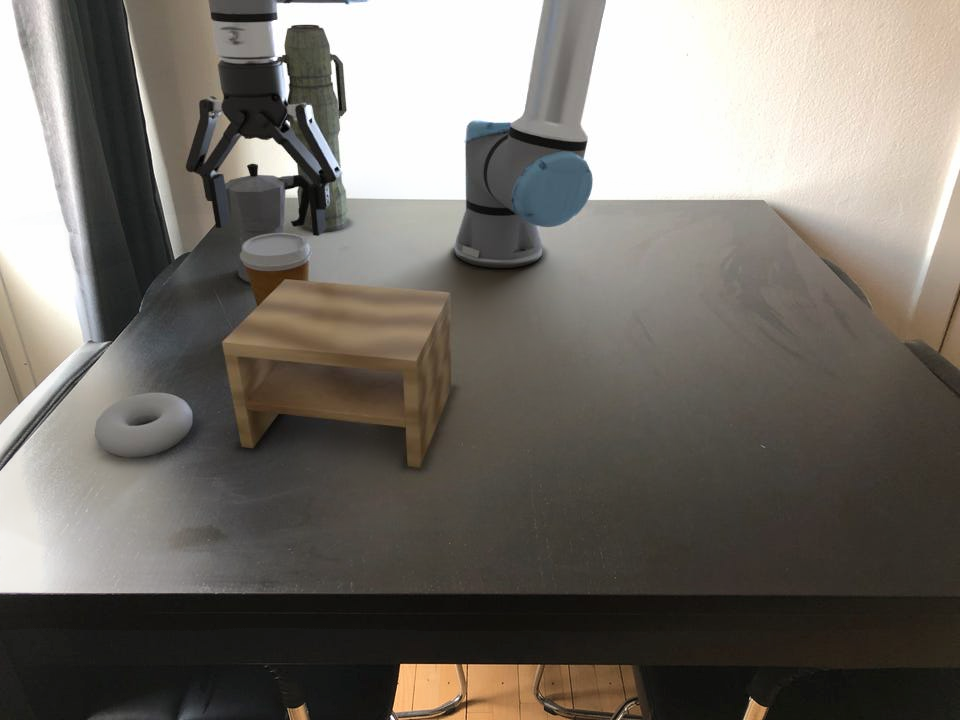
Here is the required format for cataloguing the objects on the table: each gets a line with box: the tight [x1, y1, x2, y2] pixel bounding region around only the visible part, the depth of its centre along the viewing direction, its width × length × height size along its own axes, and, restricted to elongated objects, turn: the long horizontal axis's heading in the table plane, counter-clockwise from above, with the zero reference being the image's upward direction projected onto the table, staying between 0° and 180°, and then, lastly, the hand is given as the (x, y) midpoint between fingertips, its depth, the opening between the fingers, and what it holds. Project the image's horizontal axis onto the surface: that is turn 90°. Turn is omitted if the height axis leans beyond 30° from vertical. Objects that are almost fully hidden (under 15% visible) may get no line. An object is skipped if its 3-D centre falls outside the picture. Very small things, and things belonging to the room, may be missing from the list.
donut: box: [94, 392, 193, 458], centre depth 81 cm, size 10×3×10 cm
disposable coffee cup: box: [240, 232, 313, 308], centre depth 103 cm, size 10×10×12 cm
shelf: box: [221, 279, 452, 469], centre depth 83 cm, size 16×20×13 cm
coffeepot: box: [225, 163, 311, 283], centre depth 118 cm, size 15×9×18 cm, turn 113°
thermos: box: [277, 24, 349, 233], centre depth 134 cm, size 9×12×35 cm
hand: (271, 228), depth 99 cm, fingers open, 13 cm apart
